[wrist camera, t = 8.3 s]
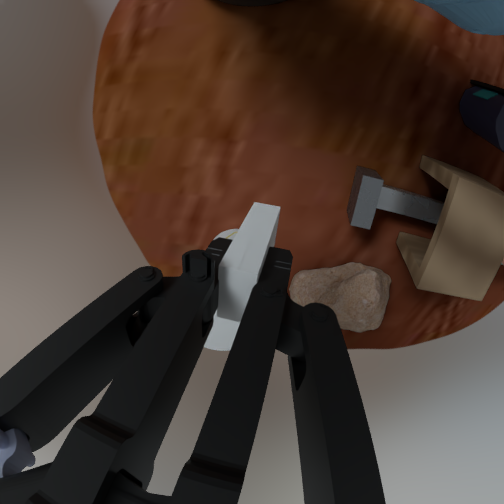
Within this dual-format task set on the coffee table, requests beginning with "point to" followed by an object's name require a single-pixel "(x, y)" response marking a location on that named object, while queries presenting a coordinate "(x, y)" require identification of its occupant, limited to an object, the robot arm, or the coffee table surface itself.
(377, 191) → the grey square dumbbell
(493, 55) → the coffee table surface
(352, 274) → the stone
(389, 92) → the coffee table surface
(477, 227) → the tunnel
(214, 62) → the coffee table surface
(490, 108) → the speaker
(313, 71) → the coffee table surface
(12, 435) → the robot arm
